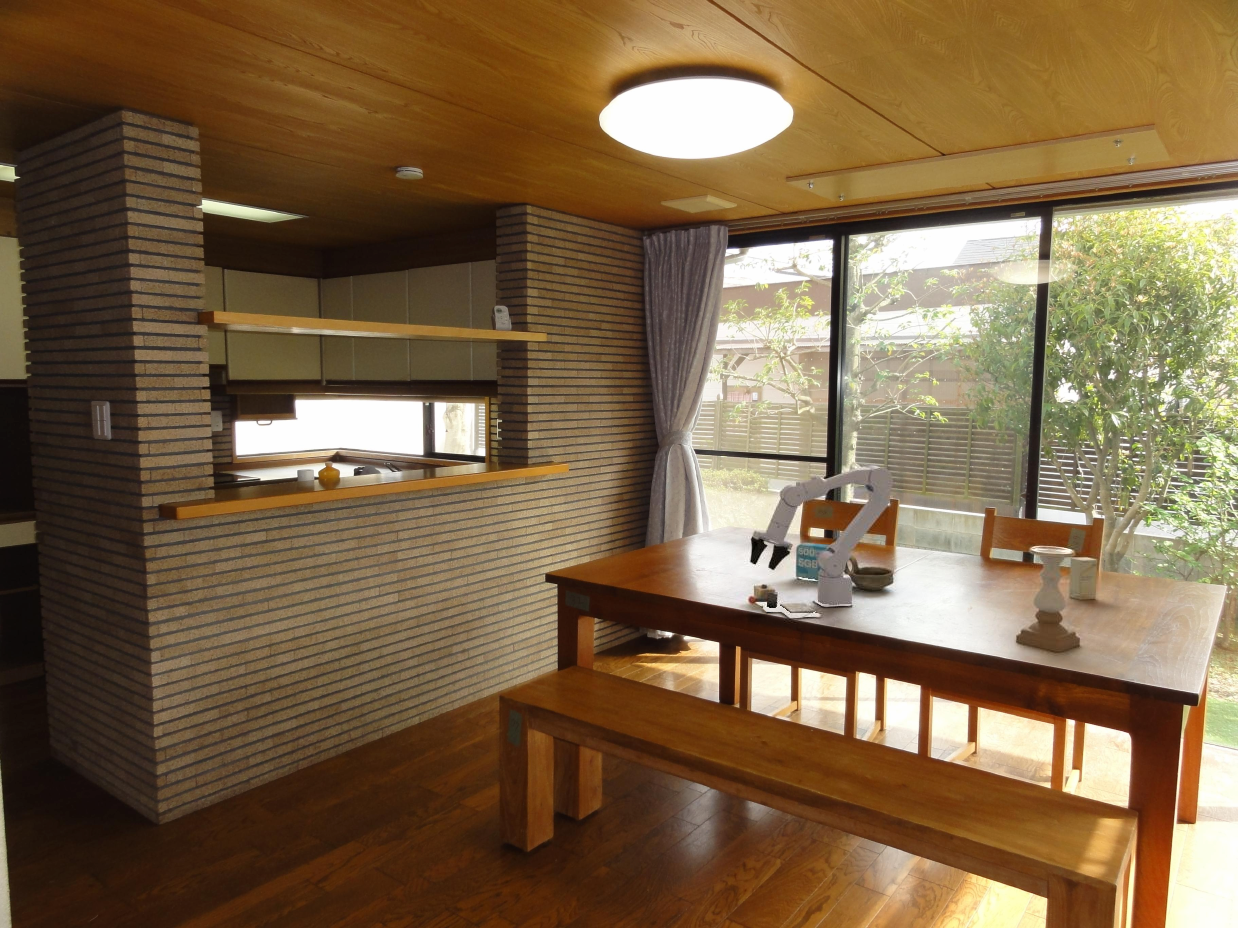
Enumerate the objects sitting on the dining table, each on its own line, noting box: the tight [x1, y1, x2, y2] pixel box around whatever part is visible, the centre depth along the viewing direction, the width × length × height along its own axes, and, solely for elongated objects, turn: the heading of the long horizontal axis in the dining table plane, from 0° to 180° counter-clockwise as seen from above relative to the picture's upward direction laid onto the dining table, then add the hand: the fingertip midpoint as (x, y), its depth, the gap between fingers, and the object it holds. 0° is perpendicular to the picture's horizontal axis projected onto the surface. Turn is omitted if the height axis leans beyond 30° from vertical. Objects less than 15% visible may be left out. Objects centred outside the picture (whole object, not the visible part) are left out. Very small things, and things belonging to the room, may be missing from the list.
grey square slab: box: [780, 602, 821, 614], centre depth 236 cm, size 13×12×2 cm
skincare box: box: [1068, 556, 1098, 601], centre depth 252 cm, size 6×4×12 cm
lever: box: [747, 591, 778, 608], centre depth 237 cm, size 9×3×4 cm, turn 100°
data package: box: [795, 542, 830, 580], centre depth 275 cm, size 12×4×12 cm, turn 55°
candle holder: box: [1015, 545, 1081, 654], centre depth 206 cm, size 11×11×24 cm
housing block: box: [753, 583, 776, 602], centre depth 246 cm, size 5×6×6 cm
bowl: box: [843, 554, 895, 591], centre depth 265 cm, size 14×18×10 cm
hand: (761, 566), depth 244 cm, fingers open, 7 cm apart
